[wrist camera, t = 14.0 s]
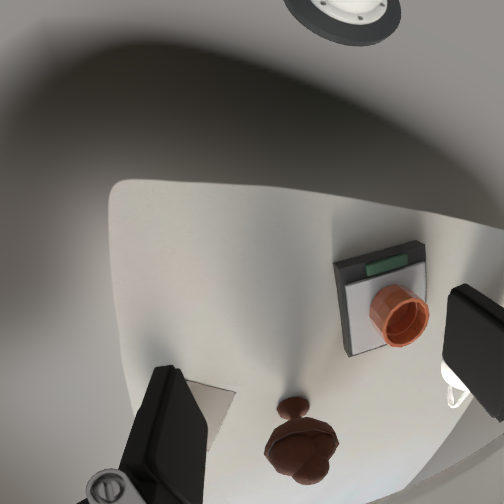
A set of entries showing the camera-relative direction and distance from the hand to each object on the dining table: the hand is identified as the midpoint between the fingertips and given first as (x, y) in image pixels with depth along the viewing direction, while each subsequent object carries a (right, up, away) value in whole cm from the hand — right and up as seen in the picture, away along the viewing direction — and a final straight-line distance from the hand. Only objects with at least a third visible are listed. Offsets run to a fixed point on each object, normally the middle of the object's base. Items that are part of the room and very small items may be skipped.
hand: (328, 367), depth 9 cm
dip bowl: (+16, -4, +28) cm, 33 cm away
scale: (+16, -3, +31) cm, 35 cm away
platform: (-14, -25, +36) cm, 46 cm away
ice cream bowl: (+4, -22, +36) cm, 43 cm away
